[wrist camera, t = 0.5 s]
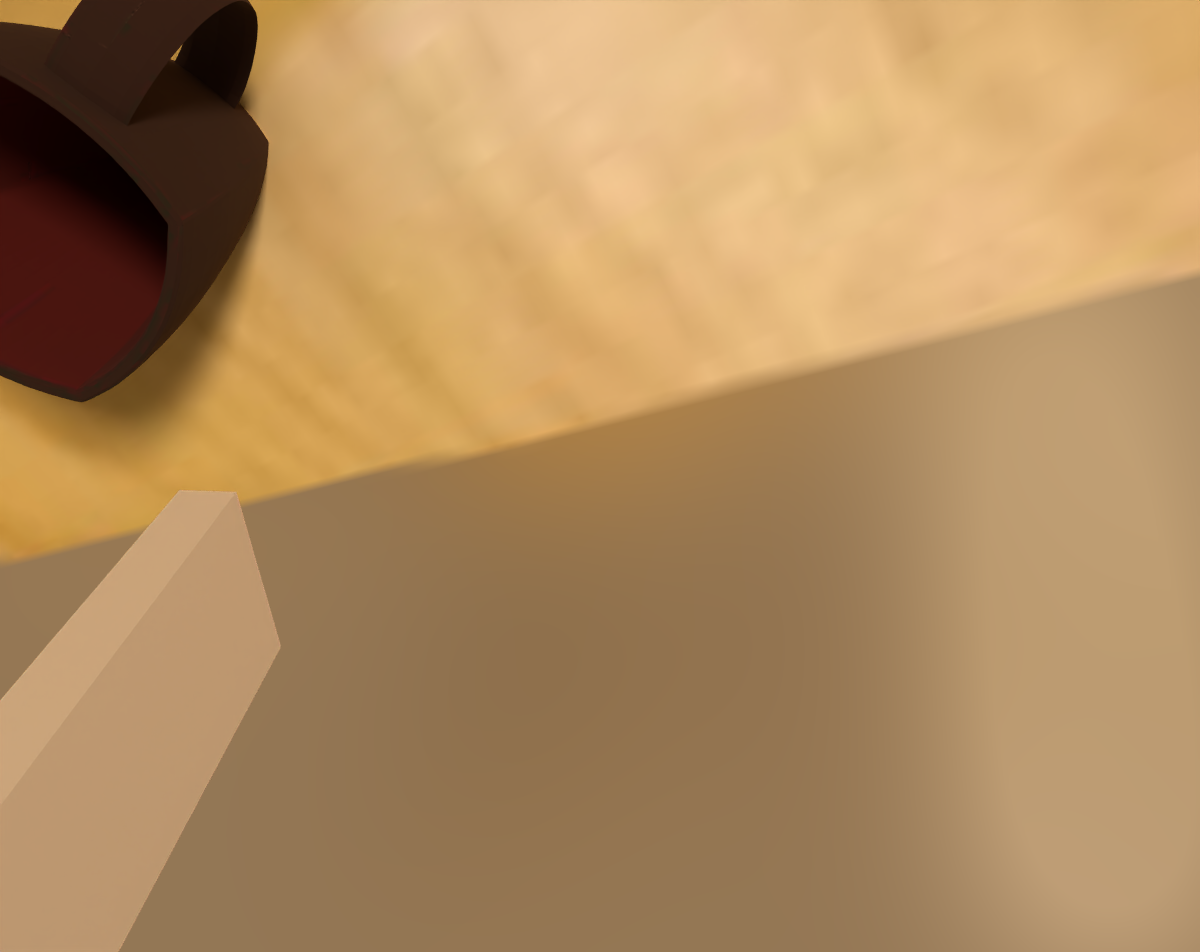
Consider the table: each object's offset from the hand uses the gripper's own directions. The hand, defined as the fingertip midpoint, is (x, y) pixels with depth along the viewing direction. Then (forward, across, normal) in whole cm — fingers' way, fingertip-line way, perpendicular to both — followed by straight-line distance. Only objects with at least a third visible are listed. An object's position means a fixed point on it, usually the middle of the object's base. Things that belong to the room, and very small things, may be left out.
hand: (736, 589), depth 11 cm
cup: (+27, -19, +1) cm, 33 cm away
